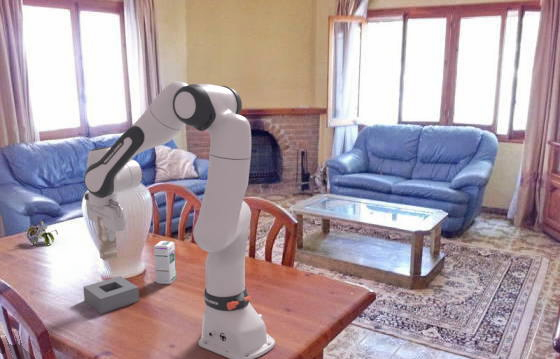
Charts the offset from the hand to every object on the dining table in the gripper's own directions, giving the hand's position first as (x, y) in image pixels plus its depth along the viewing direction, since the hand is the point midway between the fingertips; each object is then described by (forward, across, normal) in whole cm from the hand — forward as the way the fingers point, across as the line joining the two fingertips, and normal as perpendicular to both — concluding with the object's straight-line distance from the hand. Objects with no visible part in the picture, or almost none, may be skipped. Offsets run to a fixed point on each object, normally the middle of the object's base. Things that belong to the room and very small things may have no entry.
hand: (107, 238), depth 160 cm
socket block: (+22, 0, 0) cm, 22 cm away
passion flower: (+22, +78, -4) cm, 81 cm away
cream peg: (+7, 0, 0) cm, 7 cm away
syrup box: (+22, +2, -22) cm, 31 cm away
